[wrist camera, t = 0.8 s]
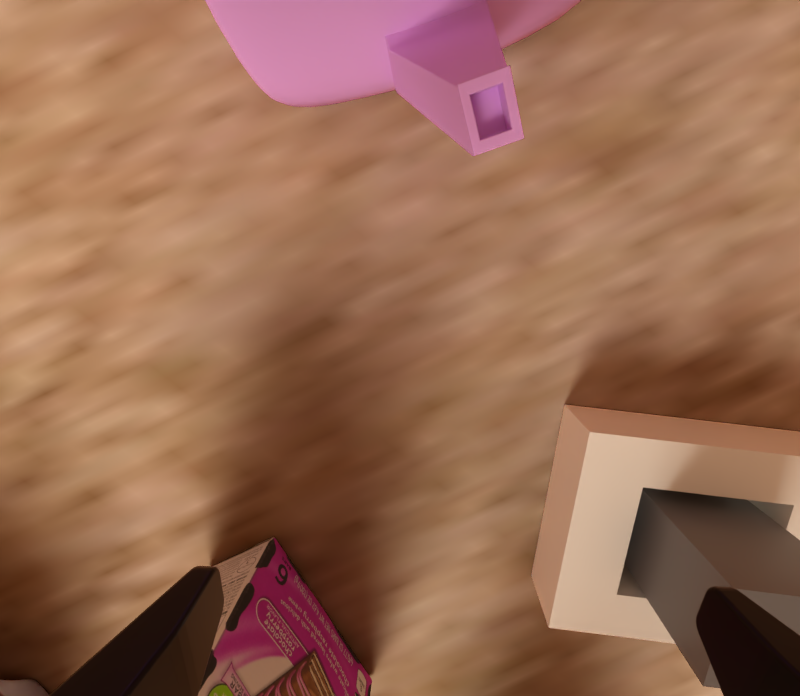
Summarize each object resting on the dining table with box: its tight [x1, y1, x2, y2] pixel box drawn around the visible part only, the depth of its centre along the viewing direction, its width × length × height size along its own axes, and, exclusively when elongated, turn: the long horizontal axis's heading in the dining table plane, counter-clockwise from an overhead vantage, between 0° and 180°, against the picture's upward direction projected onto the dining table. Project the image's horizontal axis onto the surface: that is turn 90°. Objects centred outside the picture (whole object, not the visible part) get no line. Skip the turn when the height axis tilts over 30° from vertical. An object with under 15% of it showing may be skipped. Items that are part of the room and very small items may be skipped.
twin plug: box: [624, 487, 800, 688], centre depth 19 cm, size 4×5×8 cm
